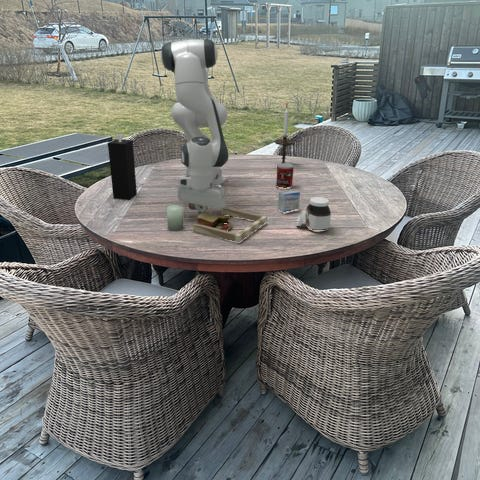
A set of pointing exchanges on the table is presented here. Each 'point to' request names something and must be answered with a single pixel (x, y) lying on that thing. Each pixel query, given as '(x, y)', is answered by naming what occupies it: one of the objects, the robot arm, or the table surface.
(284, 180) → the canned food
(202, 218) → the toy sandwich meal
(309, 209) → the spread jar
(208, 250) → the table surface
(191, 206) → the peach rounded cylinder
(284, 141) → the candlestick
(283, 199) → the medicine box
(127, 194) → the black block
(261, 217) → the frame
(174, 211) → the sage green rounded piece
